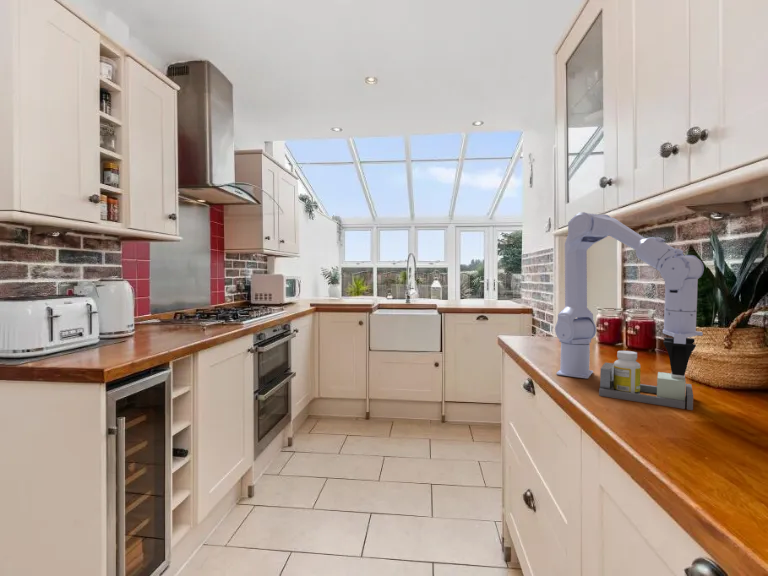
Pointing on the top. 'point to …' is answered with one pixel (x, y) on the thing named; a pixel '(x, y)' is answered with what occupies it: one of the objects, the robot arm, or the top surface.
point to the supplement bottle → (626, 372)
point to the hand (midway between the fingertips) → (678, 372)
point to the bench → (608, 391)
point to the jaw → (671, 386)
